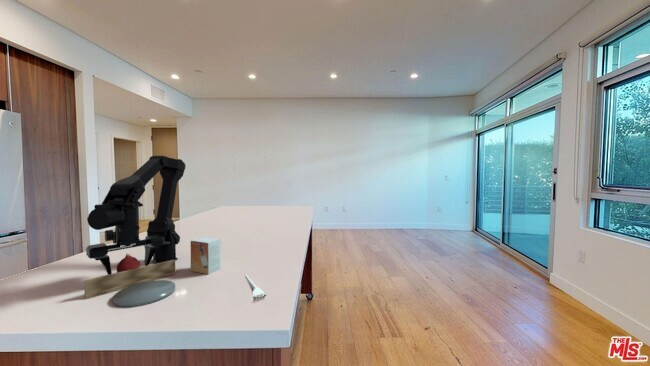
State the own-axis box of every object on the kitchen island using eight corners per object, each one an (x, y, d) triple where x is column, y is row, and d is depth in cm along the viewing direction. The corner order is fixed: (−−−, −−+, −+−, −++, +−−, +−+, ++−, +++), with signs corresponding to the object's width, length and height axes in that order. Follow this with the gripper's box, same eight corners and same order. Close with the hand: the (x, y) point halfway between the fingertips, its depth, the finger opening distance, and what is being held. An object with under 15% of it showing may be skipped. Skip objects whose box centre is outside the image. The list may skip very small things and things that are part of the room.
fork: (250, 276, 86) (250, 270, 86) (269, 300, 69) (269, 292, 69) (240, 278, 85) (240, 272, 85) (256, 303, 67) (256, 295, 67)
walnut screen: (173, 272, 87) (173, 259, 87) (176, 274, 86) (175, 260, 86) (84, 296, 71) (83, 279, 70) (85, 299, 69) (85, 282, 69)
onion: (144, 276, 84) (144, 252, 84) (125, 284, 78) (125, 257, 78) (131, 274, 86) (131, 250, 85) (112, 281, 80) (111, 255, 80)
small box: (190, 271, 88) (189, 240, 88) (203, 266, 94) (203, 236, 93) (208, 274, 85) (207, 242, 85) (221, 269, 91) (220, 238, 90)
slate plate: (164, 279, 82) (164, 276, 82) (183, 292, 73) (183, 289, 73) (107, 295, 71) (106, 292, 71) (120, 313, 62) (120, 309, 62)
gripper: (152, 216, 94) (153, 259, 94) (82, 224, 80) (83, 275, 80) (164, 219, 87) (165, 266, 87) (89, 229, 72) (91, 285, 73)
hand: (128, 272), depth 82 cm, fingers open, 9 cm apart
